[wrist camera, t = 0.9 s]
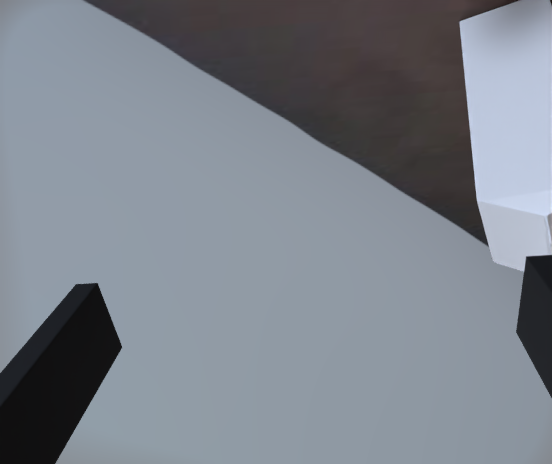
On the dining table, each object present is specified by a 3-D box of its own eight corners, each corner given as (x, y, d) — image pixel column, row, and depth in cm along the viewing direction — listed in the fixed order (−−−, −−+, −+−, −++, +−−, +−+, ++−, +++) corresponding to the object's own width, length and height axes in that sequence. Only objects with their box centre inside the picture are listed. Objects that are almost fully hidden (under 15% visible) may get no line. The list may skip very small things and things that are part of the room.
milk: (546, -11, 33) (635, 228, 20) (552, 61, 37) (628, 300, 23) (457, 21, 36) (481, 248, 22) (471, 84, 39) (498, 308, 26)
